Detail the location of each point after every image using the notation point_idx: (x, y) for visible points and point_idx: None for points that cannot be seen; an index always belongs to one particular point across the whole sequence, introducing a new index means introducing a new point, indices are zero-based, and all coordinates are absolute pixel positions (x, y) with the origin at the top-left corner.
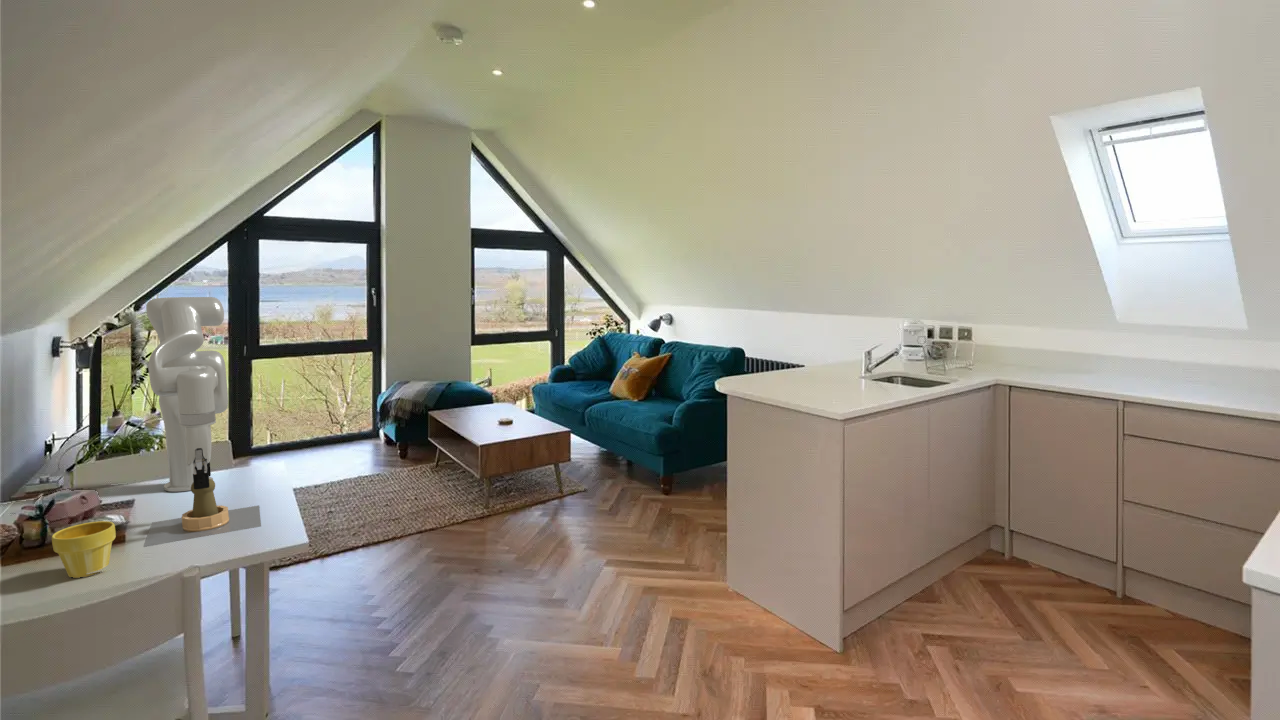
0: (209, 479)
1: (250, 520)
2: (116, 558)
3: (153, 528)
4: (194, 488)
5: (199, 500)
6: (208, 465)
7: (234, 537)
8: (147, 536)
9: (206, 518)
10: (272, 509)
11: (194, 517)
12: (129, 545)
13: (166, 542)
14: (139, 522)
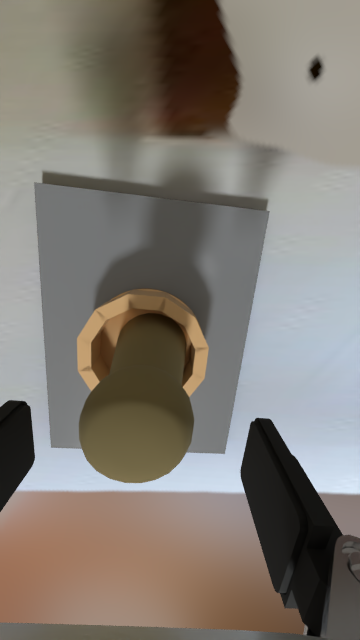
0: (139, 477)
1: None
2: (12, 108)
3: (203, 213)
4: (7, 403)
5: (111, 370)
6: (268, 558)
7: (32, 389)
8: (132, 195)
9: (79, 358)
10: (197, 467)
11: (131, 327)
12: (119, 147)
13: (42, 244)
14: (331, 178)
